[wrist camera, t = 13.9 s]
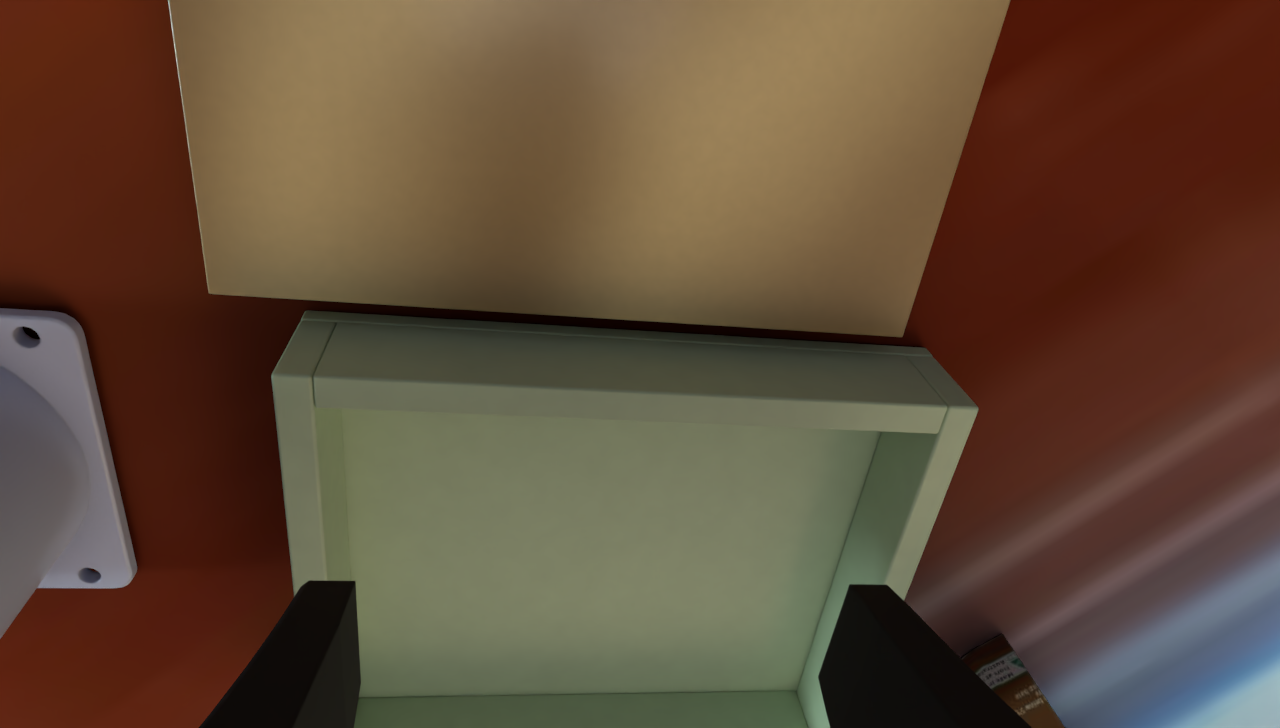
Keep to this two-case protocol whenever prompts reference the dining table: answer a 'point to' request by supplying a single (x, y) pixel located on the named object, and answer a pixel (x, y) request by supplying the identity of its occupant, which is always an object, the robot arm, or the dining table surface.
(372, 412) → the tray
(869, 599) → the robot arm
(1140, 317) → the dining table surface
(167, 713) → the dining table surface
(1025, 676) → the food container
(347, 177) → the board
